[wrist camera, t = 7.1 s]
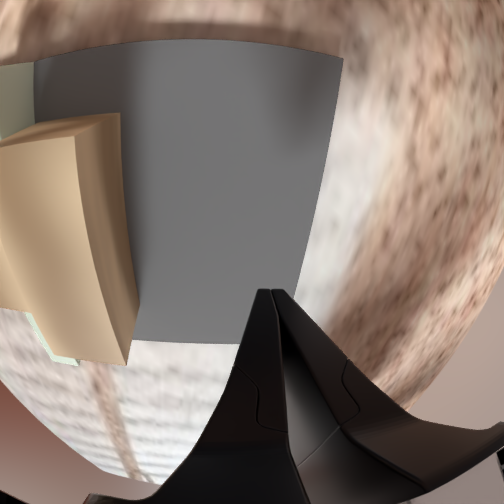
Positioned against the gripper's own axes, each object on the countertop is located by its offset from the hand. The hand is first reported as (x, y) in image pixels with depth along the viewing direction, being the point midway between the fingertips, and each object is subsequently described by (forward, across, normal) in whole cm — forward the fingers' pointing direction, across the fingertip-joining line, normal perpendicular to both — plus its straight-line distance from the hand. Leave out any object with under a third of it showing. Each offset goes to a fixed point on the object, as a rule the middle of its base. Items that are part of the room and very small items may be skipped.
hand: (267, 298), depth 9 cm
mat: (+5, +6, 0) cm, 8 cm away
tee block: (+4, +10, 0) cm, 11 cm away
